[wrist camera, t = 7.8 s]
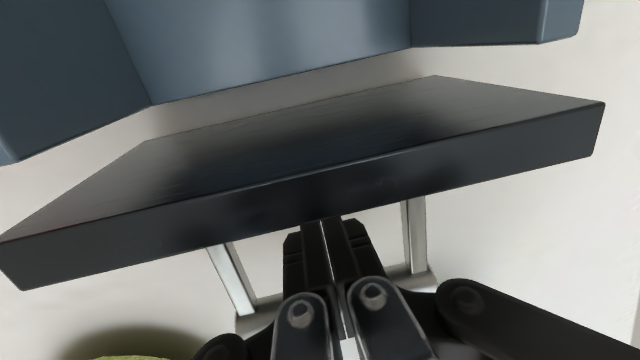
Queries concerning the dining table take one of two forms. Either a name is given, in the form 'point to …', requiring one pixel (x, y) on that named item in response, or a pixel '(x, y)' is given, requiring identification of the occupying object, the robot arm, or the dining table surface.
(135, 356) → the mat
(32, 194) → the dining table surface
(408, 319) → the robot arm
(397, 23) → the dish drawer
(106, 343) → the dining table surface
